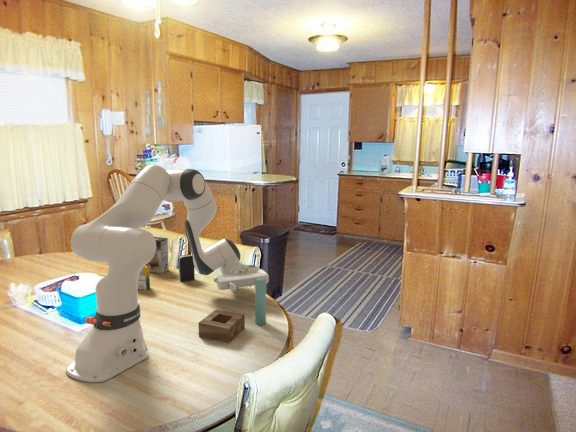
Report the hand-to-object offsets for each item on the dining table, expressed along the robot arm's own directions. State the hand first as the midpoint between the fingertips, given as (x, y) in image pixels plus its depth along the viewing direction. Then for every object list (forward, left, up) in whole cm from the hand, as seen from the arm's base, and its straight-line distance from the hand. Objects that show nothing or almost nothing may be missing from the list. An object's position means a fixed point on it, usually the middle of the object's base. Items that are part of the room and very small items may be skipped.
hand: (249, 286), depth 149 cm
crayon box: (+3, +53, -9) cm, 53 cm away
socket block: (-19, +1, -9) cm, 21 cm away
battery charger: (+19, +41, -9) cm, 45 cm away
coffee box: (+24, +61, -9) cm, 66 cm away
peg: (-8, -8, -9) cm, 15 cm away
